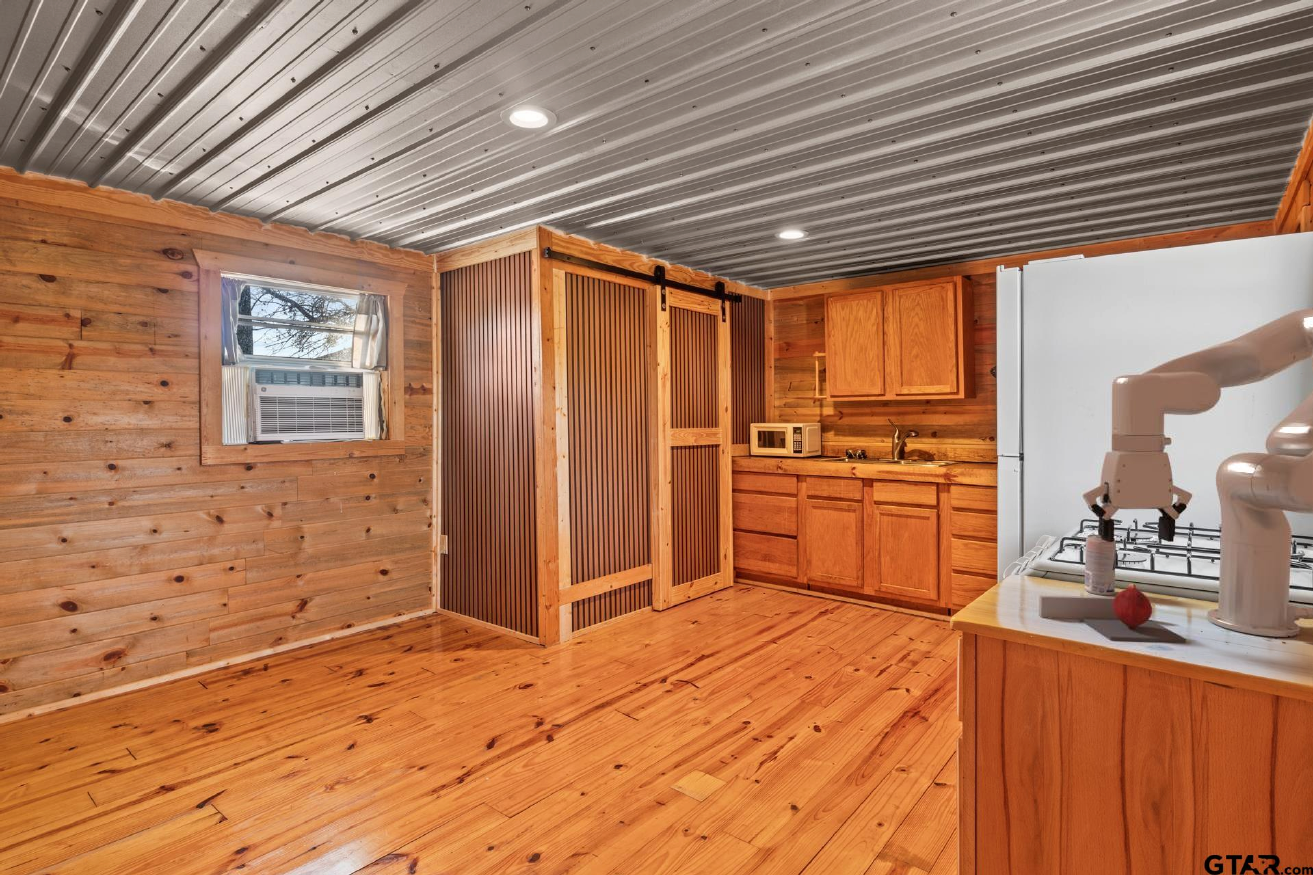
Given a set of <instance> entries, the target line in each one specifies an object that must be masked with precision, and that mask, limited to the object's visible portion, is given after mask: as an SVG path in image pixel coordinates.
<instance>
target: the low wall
mask: <svg viewBox="0 0 1313 875" xmlns="http://www.w3.org/2000/svg"><path fill="white" fill-rule="evenodd" d="M1114 598H1115V597H1114V596H1083V595H1082V596H1078V595H1076V596H1075V595H1042V594H1040V595H1039V596H1038V604H1039V605H1038V616H1039V617H1040V618H1041V617H1052V619H1079V620H1082V618H1100V619H1118V618H1117V617H1116V615H1115V613H1114V612H1113V606H1112V605H1113V600H1114ZM1057 617H1058V618H1057ZM1148 620H1150V618H1149V619H1148Z"/></svg>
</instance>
